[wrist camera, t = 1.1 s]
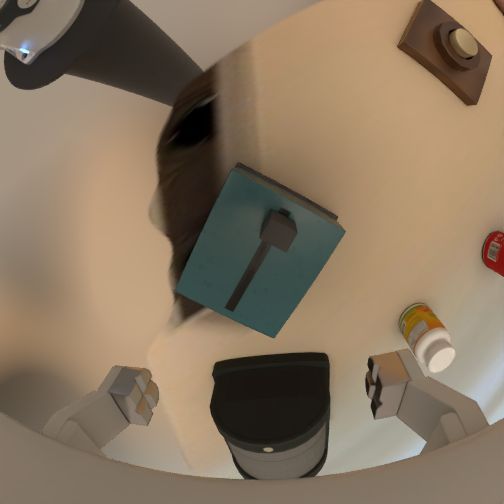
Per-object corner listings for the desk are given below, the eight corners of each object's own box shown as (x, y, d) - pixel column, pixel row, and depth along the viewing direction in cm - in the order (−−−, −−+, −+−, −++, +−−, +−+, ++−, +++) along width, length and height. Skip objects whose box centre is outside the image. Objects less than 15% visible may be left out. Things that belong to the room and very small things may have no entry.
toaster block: (186, 269, 35) (170, 292, 29) (238, 162, 30) (230, 164, 24) (275, 313, 36) (275, 342, 31) (337, 215, 31) (350, 230, 26)
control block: (397, 46, 23) (410, 36, 20) (418, 2, 20) (431, -9, 16) (467, 106, 25) (485, 103, 21) (483, 58, 21) (499, 53, 17)
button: (445, 44, 19) (452, 40, 18) (451, 27, 18) (458, 23, 17) (467, 63, 20) (474, 61, 18) (472, 46, 18) (480, 43, 17)
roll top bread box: (343, 428, 24) (333, 488, 31) (327, 348, 38) (326, 425, 44) (190, 435, 27) (228, 493, 33) (211, 358, 40) (237, 431, 46)
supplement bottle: (435, 314, 35) (465, 353, 26) (410, 339, 37) (434, 382, 28) (418, 295, 34) (450, 335, 25) (391, 322, 36) (416, 367, 27)
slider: (260, 227, 26) (258, 238, 23) (271, 208, 25) (270, 217, 22) (284, 239, 26) (286, 252, 23) (295, 221, 26) (298, 232, 22)
